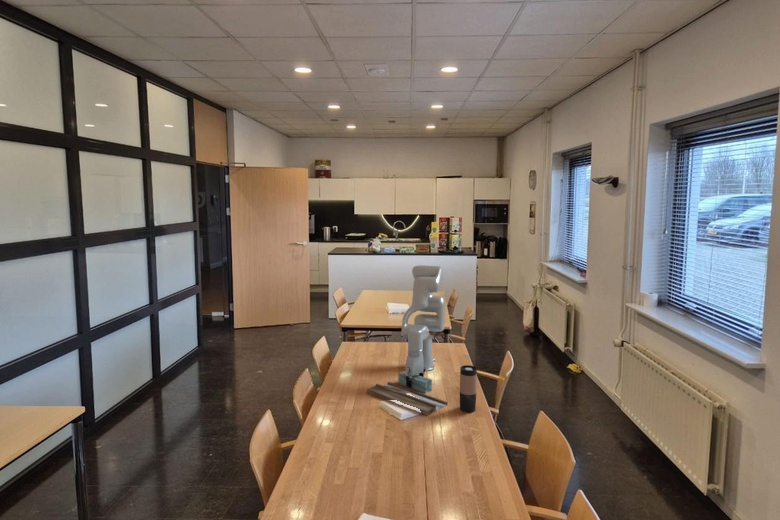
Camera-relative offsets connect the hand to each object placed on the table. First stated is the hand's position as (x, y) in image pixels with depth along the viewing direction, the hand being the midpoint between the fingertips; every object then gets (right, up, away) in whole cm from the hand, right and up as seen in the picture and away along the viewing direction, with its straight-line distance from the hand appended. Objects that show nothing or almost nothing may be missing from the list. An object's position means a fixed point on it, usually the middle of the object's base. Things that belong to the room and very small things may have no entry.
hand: (415, 384), depth 249 cm
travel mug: (+23, -5, -26) cm, 35 cm away
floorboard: (-5, -3, -14) cm, 15 cm away
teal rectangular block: (0, -2, 0) cm, 2 cm away
